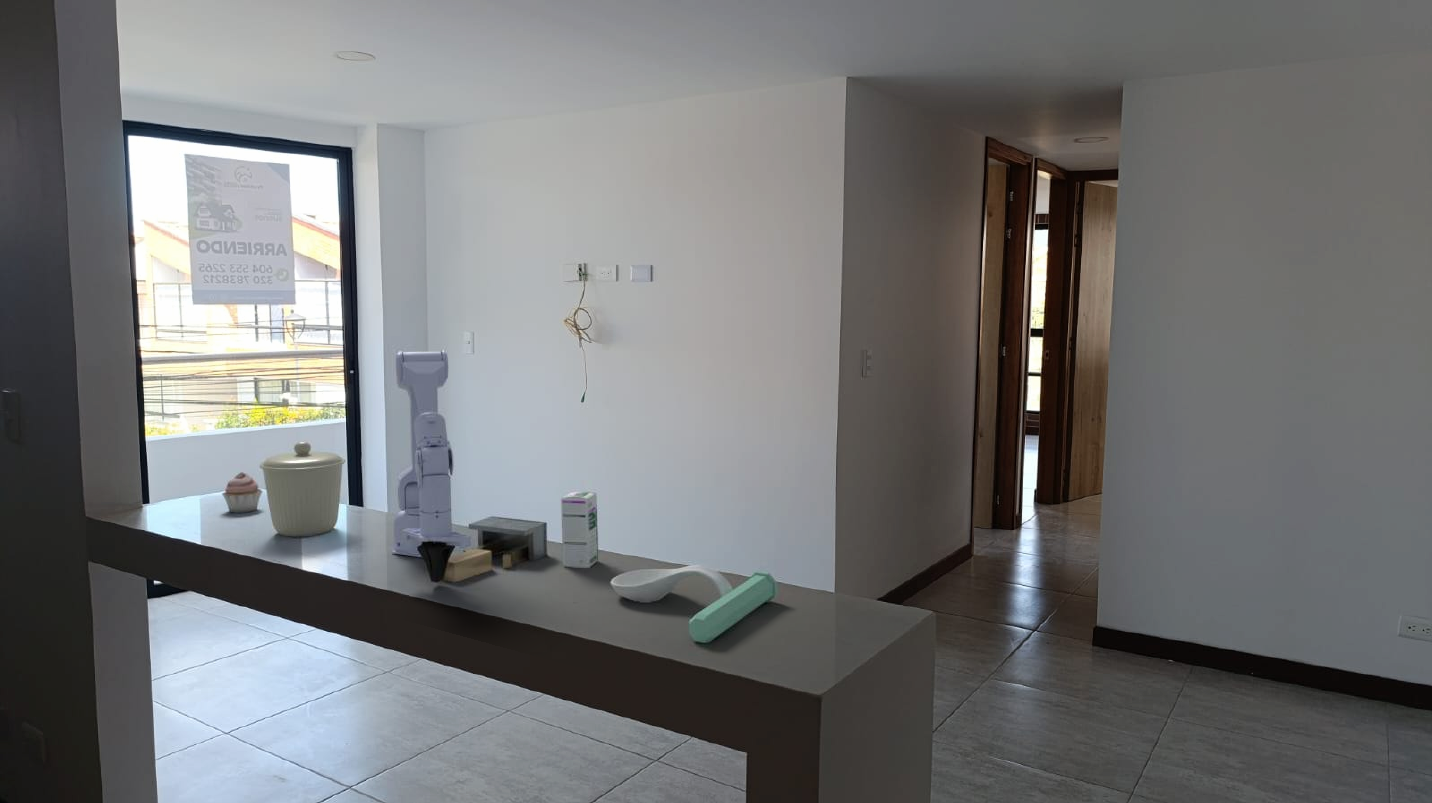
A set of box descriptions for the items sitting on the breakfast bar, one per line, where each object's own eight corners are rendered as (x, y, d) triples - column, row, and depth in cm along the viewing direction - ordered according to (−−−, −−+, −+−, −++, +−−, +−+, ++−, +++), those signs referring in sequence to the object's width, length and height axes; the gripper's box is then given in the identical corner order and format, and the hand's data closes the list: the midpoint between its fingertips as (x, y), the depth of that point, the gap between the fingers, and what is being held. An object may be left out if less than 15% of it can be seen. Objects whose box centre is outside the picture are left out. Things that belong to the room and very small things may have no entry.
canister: (356, 534, 216) (353, 443, 214) (270, 545, 206) (265, 450, 204) (337, 519, 231) (334, 434, 229) (256, 529, 221) (252, 440, 219)
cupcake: (221, 516, 234) (218, 476, 233) (224, 508, 243) (222, 470, 242) (262, 512, 238) (260, 473, 237) (264, 505, 247) (262, 467, 246)
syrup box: (589, 568, 190) (588, 497, 188) (561, 566, 191) (560, 496, 190) (598, 561, 195) (597, 492, 194) (571, 559, 197) (570, 490, 195)
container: (706, 609, 147) (771, 567, 169) (676, 617, 150) (743, 575, 172) (719, 645, 147) (782, 598, 169) (688, 653, 149) (755, 606, 172)
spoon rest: (598, 602, 170) (598, 563, 169) (632, 584, 180) (631, 548, 179) (717, 622, 159) (718, 581, 159) (745, 602, 170) (746, 563, 169)
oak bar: (439, 580, 182) (439, 560, 182) (476, 567, 191) (476, 548, 191) (454, 583, 180) (454, 563, 180) (491, 570, 189) (491, 551, 189)
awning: (456, 561, 194) (455, 528, 194) (492, 547, 205) (492, 516, 205) (513, 569, 189) (512, 535, 188) (547, 554, 200) (546, 522, 199)
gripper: (389, 510, 176) (392, 581, 177) (452, 518, 170) (454, 591, 171) (415, 503, 182) (417, 571, 184) (477, 510, 176) (479, 581, 178)
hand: (437, 580), depth 178 cm, fingers closed
